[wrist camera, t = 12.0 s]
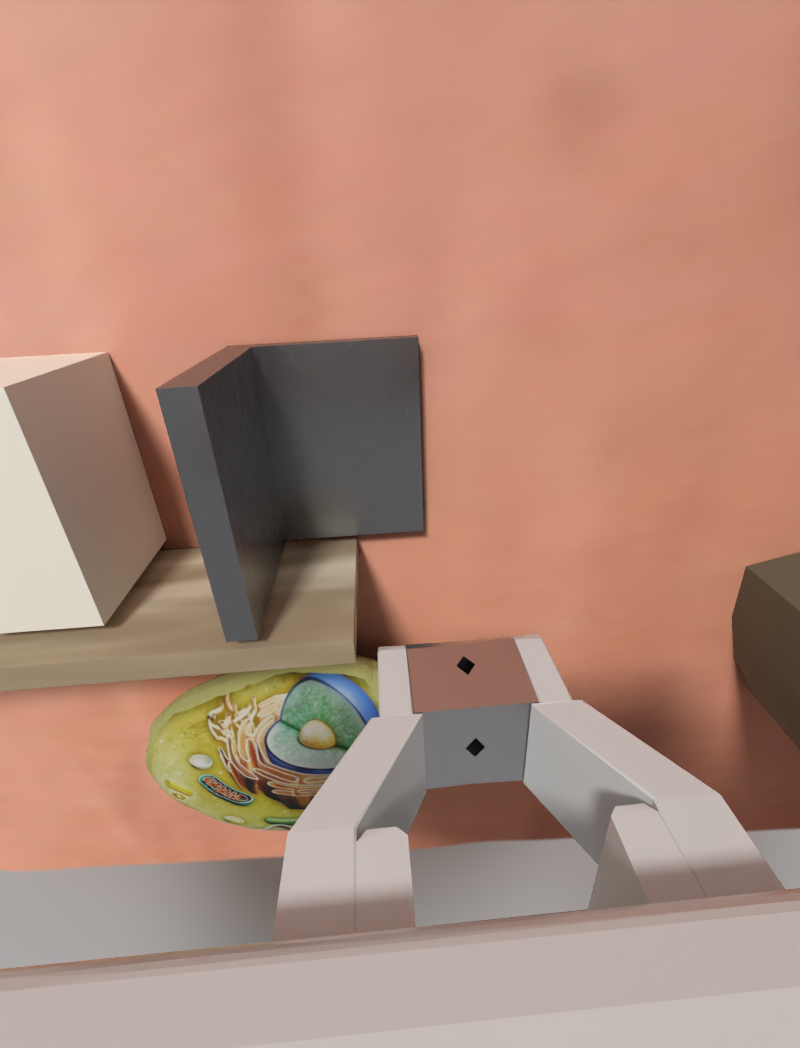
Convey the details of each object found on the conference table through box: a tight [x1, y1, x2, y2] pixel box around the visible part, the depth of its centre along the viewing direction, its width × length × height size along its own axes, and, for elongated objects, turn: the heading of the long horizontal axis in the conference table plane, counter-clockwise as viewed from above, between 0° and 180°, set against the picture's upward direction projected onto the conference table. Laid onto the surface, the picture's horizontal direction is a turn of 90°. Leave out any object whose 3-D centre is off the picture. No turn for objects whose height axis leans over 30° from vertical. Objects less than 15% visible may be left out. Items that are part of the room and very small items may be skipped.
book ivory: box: [0, 352, 167, 634], centre depth 17 cm, size 8×4×6 cm, turn 3°
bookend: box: [156, 335, 424, 642], centre depth 17 cm, size 8×7×7 cm
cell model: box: [146, 655, 379, 831], centre depth 25 cm, size 10×8×14 cm
